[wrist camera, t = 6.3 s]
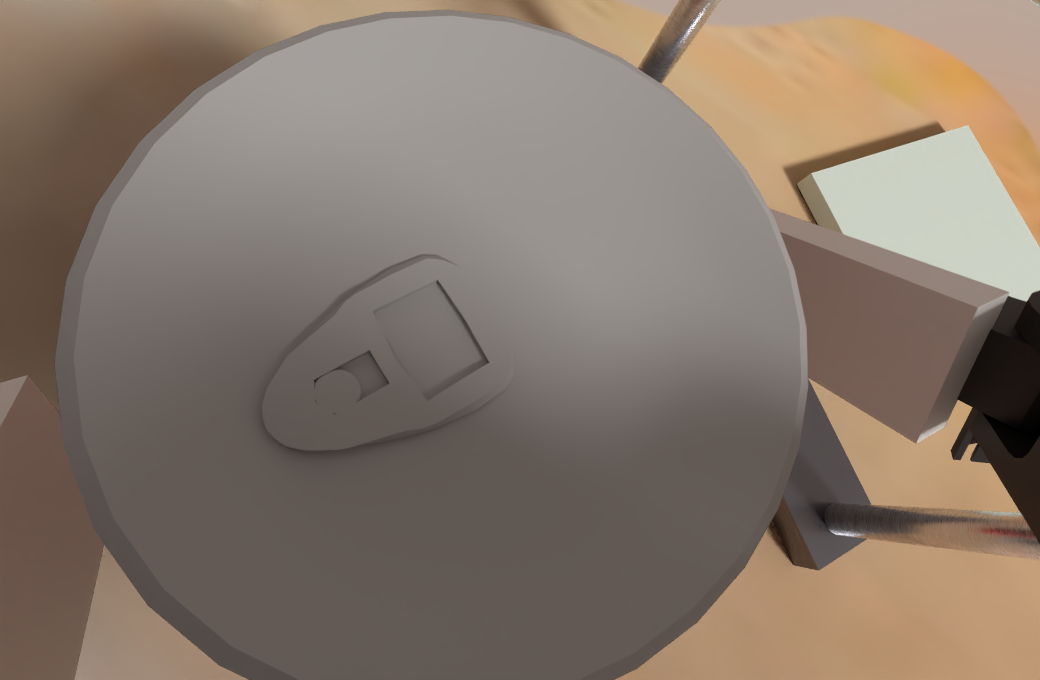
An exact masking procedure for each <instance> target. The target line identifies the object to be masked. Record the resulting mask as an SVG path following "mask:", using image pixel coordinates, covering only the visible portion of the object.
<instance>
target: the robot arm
mask: <svg viewBox="0 0 1040 680" xmlns="http://www.w3.org/2000/svg"><path fill="white" fill-rule="evenodd" d="M769 209H770V208H769ZM770 211H771V213H772V214H773V216H774V218H775V221H776V223H777V226H778V228H779V231H780V234H781V236H782V239H783V241H784V244H785V246H786V249H787V252H788V254H789V257H790V259H791V262H792V264H793V267H794V270H795V274H796V279H797V284H798V288H799V293H800V298H801V303H802V308H803V313H804V318H805V322H806V329H807V361H808V378H810V379H812V380H813V381H815V382H816V383H818V384H820V385H821V386H823V387H825V388H826V389H828V390H829V391H831V392H833V393H834V394H836V395H838V396H839V397H841V398H843V399H844V400H846V401H847V402H849V403H851V404H852V405H854V406H856V407H857V408H859V409H860V410H862V411H864V412H865V413H867V414H869V415H870V416H872V417H873V418H875V419H877V420H878V421H880V422H882V423H883V424H885V425H887V426H888V427H890V428H891V429H893V430H895V431H896V432H898V433H900V434H901V435H903V436H904V437H906V438H908V439H909V440H911V441H913V442H914V443H918V442H920V441H921V440H923V439H925V438H927V437H928V436H930V435H932V434H934V433H935V432H937V431H939V430H941V429H942V428H944V427H945V425H946V423H947V421H948V419H949V417H950V415H951V413H952V410H953V408H954V406H955V404H956V402H957V400H960V401H962V402H964V403H965V404H967V405H969V406H971V407H973V408H972V410H971V412H970V414H969V416H968V418H967V420H966V422H965V424H964V426H963V428H962V429H961V431H960V433H959V435H958V437H957V439H956V441H955V443H954V445H953V447H952V449H951V453H952V457H953V459H954V460H961V458H962V456H963V454H964V452H965V450H966V449H967V447H968V445H969V444H974V443H978V444H977V446H976V447H975V449H974V451H973V453H972V455H971V459H970V460H971V461H973V462H983V463H990V464H991V465H992V467H993V468H994V470H995V472H996V473H997V475H998V477H999V478H1000V480H1001V481H1002V483H1003V485H1004V486H1005V488H1006V490H1007V491H1008V493H1009V495H1010V496H1011V498H1012V499H1013V501H1014V503H1015V504H1016V506H1017V508H1018V509H1019V511H1020V512H1021V514H1022V516H1023V517H1024V519H1025V521H1026V522H1027V524H1028V526H1029V527H1030V529H1031V530H1032V532H1033V534H1034V535H1035V537H1036V539H1037V540H1038V542H1039V544H1040V290H1039V291H1036V292H1033V293H1032V294H1031V295H1030V297H1029V299H1028V300H1027V302H1026V301H1023V300H1020V299H1016V298H1013V297H1010V296H1008V295H1009V293H1010V292H1008V291H1005V290H1002V289H999V288H996V287H993V286H991V285H988V284H985V283H982V282H979V281H976V280H973V279H970V278H968V277H965V276H962V275H959V274H956V273H953V272H950V271H947V270H945V269H942V268H939V267H936V266H933V265H930V264H927V263H925V262H922V261H919V260H916V259H913V258H910V257H907V256H904V255H902V254H899V253H896V252H893V251H890V250H887V249H884V248H881V247H879V246H876V245H873V244H870V243H867V242H864V241H861V240H859V239H856V238H853V237H850V236H847V235H844V234H841V233H838V232H836V231H833V230H830V229H827V228H824V227H821V226H818V225H815V224H813V223H810V222H807V221H804V220H801V219H798V218H795V217H793V216H790V215H787V214H784V213H781V212H778V211H775V210H772V209H770ZM103 547H104V543H103V542H102V540H101V539H100V537H99V536H98V535H97V533H96V532H95V530H94V527H93V525H92V522H91V519H90V517H89V514H88V511H87V509H86V506H85V503H84V501H83V498H82V495H81V493H80V490H79V488H78V485H77V482H76V480H75V477H74V474H73V472H72V469H71V466H70V464H69V461H68V458H67V456H66V453H65V450H64V448H63V439H62V429H61V420H60V415H59V413H58V412H57V411H56V410H55V408H54V407H53V406H52V404H51V403H50V402H49V401H48V399H47V398H46V397H45V396H44V394H43V393H42V392H41V390H40V389H39V388H38V387H37V385H36V384H35V383H34V381H33V380H32V379H31V378H30V376H29V375H26V376H22V377H19V378H15V379H12V380H8V381H5V382H1V383H0V680H74V679H75V674H76V670H77V665H78V661H79V656H80V652H81V647H82V643H83V638H84V633H85V629H86V624H87V620H88V615H89V611H90V606H91V602H92V597H93V593H94V588H95V584H96V579H97V575H98V570H99V566H100V561H101V557H102V552H103Z"/></svg>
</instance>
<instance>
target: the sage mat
mask: <svg viewBox="0 0 1040 680" xmlns="http://www.w3.org/2000/svg"><path fill="white" fill-rule="evenodd" d="M797 186H798V188H799V190H800V191H801V193H802V195H803V197H804V199H805V201H806V203H807V205H808V207H809V209H810V211H811V213H812V214H813V216H814V218H815V220H816V222H817V224H818V226H821V227H824V228H827V229H830V230H833V231H836V232H838V233H841V234H844V235H847V236H850V237H853V238H856V239H859V240H861V241H864V242H867V243H870V244H873V245H876V246H879V247H881V248H884V249H887V250H890V251H893V252H896V253H899V254H902V255H904V256H907V257H910V258H913V259H916V260H919V261H922V262H925V263H927V264H930V265H933V266H936V267H939V268H942V269H945V270H947V271H950V272H953V273H956V274H959V275H962V276H965V277H968V278H970V279H973V280H976V281H979V282H982V283H985V284H988V285H991V286H993V287H996V288H999V289H1002V290H1005V291H1008V292H1010V293H1009V295H1008V296H1010V297H1013V298H1016V299H1020V300H1023V301H1026V302H1027V300H1028V299H1029V297H1030V295H1031V294H1032V293H1033V292H1036V291H1039V290H1040V247H1039V246H1038V244H1037V242H1036V240H1035V239H1034V237H1033V235H1032V234H1031V232H1030V230H1029V229H1028V227H1027V225H1026V223H1025V222H1024V220H1023V218H1022V217H1021V215H1020V213H1019V211H1018V210H1017V208H1016V206H1015V205H1014V203H1013V201H1012V200H1011V198H1010V196H1009V194H1008V193H1007V191H1006V189H1005V188H1004V186H1003V184H1002V183H1001V181H1000V179H999V177H998V176H997V174H996V172H995V171H994V169H993V167H992V166H991V164H990V162H989V160H988V159H987V157H986V155H985V154H984V152H983V150H982V148H981V147H980V145H979V143H978V142H977V140H976V138H975V137H974V135H973V133H972V131H971V130H970V128H969V126H968V125H967V126H964V127H960V128H957V129H954V130H951V131H947V132H944V133H941V134H938V135H934V136H931V137H928V138H925V139H921V140H918V141H915V142H911V143H908V144H905V145H902V146H898V147H895V148H892V149H889V150H885V151H882V152H879V153H876V154H872V155H869V156H866V157H863V158H859V159H856V160H853V161H850V162H846V163H843V164H840V165H837V166H833V167H830V168H827V169H824V170H820V171H817V172H814V173H811V174H810V175H808V176H807V177H805V178H804V179H803V180H801V181H800V182H798V183H797Z"/></svg>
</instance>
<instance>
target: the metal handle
mask: <svg viewBox="0 0 1040 680" xmlns="http://www.w3.org/2000/svg"><path fill="white" fill-rule="evenodd" d="M720 1H721V0H679V2H678V3H677V5H676V7H675V8H674V10H673V11H672V13H671V15H670V16H669V18H668V20H667V21H666V23H665V24H664V26H663V28H662V29H661V31H660V33H659V34H658V36H657V37H656V39H655V41H654V42H653V44H652V46H651V47H650V49H649V50H648V52H647V54H646V55H645V57H644V59H643V60H642V62H641V63H640V65H639V67H638V69H639V70H641V71H642V72H644V73H645V74H647V75H648V76H650V77H652V78H653V79H655V80H656V81H658V82H659V83H661V84H662V83H663V82H664V80H665V79H666V77H667V76H668V75H669V73H670V72H671V70H672V69H673V68H674V66H675V65H676V63H677V62H678V60H679V59H680V58H681V56H682V55H683V53H684V52H685V50H686V49H687V48H688V46H689V45H690V43H691V42H692V40H693V39H694V38H695V36H696V35H697V33H698V32H699V31H700V29H701V28H702V26H703V25H704V23H705V22H706V21H707V19H708V18H709V16H710V15H711V13H712V12H713V11H714V9H715V8H716V6H717V5H718V3H719V2H720ZM1030 1H1031V2H1033V3H1035V4H1036V5H1037V6H1039V7H1040V0H1030ZM772 521H773V523H774V525H775V527H776V529H777V531H778V534H779V536H780V538H781V540H782V542H783V544H784V546H785V548H786V551H787V553H788V555H789V557H790V559H791V561H792V563H793V565H795V566H800V567H805V568H809V569H814V570H820V569H822V568H823V567H825V566H826V565H828V564H829V563H831V562H832V561H834V560H836V559H837V558H839V557H840V556H842V555H843V554H845V553H846V552H848V551H849V550H851V549H852V548H854V547H855V546H857V545H859V544H860V543H862V542H863V541H865V540H866V539H872V540H880V541H888V542H897V543H905V544H913V545H921V546H929V547H937V548H945V549H953V550H961V551H969V552H978V553H986V554H994V555H1002V556H1010V557H1018V558H1026V559H1034V560H1040V544H1039V542H1038V540H1037V539H1036V537H1035V535H1034V534H1033V532H1032V530H1031V529H1030V527H1029V526H1028V524H1027V522H1026V521H1025V519H1024V517H1023V516H1022V514H1021V513H1017V512H998V511H978V510H959V509H940V508H921V507H902V506H883V505H871V503H870V501H869V499H868V497H867V495H866V493H865V491H864V489H863V487H862V485H861V483H860V481H859V479H858V477H857V475H856V473H855V471H854V469H853V467H852V465H851V463H850V461H849V459H848V457H847V455H846V453H845V451H844V449H843V447H842V445H841V443H840V441H839V439H838V437H837V435H836V433H835V431H834V429H833V427H832V425H831V423H830V421H829V419H828V417H827V415H826V413H825V411H824V409H823V407H822V405H821V403H820V401H819V399H818V397H817V395H816V393H815V391H814V389H813V387H812V385H811V383H810V381H809V379H808V392H807V399H806V405H805V412H804V419H803V426H802V433H801V439H800V446H799V450H798V453H797V456H796V459H795V461H794V464H793V467H792V470H791V473H790V476H789V479H788V482H787V485H786V488H785V491H784V494H783V497H782V500H781V502H780V505H779V508H778V510H777V512H776V514H775V515H774V517H773V519H772Z"/></svg>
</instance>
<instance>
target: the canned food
mask: <svg viewBox="0 0 1040 680" xmlns="http://www.w3.org/2000/svg"><path fill="white" fill-rule="evenodd" d="M54 363H55V373H56V382H57V391H58V401H59V410H60V420H61V429H62V439H63V448H64V450H65V453H66V456H67V458H68V461H69V464H70V466H71V469H72V472H73V474H74V477H75V480H76V482H77V485H78V488H79V490H80V493H81V495H82V498H83V501H84V503H85V506H86V509H87V511H88V514H89V517H90V519H91V522H92V525H93V527H94V530H95V532H96V533H97V535H98V536H99V537H100V539H101V540H102V542H103V543H104V544H105V546H106V547H107V549H108V550H109V551H110V553H111V554H112V556H113V557H114V558H115V560H116V561H117V563H118V564H119V566H120V567H121V568H122V570H123V571H124V573H125V574H126V575H127V577H128V578H129V580H130V581H131V582H132V584H133V585H134V587H135V588H136V589H137V591H138V592H139V594H140V595H141V596H142V598H143V599H144V601H145V602H146V603H147V605H148V606H149V607H150V608H152V609H153V610H154V611H155V612H156V613H158V614H159V615H160V616H161V617H162V618H164V619H165V620H166V621H167V622H168V623H169V624H171V625H172V626H173V627H174V628H175V629H177V630H178V631H179V632H180V633H181V634H183V635H184V636H185V637H186V638H187V639H188V640H190V641H191V642H192V643H193V644H194V645H196V646H197V647H198V648H199V649H200V650H202V651H203V652H204V653H205V654H206V655H208V656H209V657H210V658H211V659H212V660H213V661H215V662H216V663H217V664H218V665H220V666H222V667H224V668H226V669H228V670H230V671H232V672H234V673H236V674H238V675H241V676H243V677H245V678H247V679H249V680H614V679H617V678H619V677H621V676H623V675H625V674H627V673H629V672H631V671H633V670H635V669H637V668H638V667H640V666H641V665H642V664H644V663H645V662H646V661H647V660H649V659H650V658H651V657H653V656H654V655H655V654H657V653H658V652H659V651H660V650H662V649H663V648H664V647H666V646H667V645H668V644H670V643H671V642H672V641H674V640H675V639H676V638H677V637H679V636H680V635H681V634H683V633H684V632H685V631H687V630H688V629H689V628H690V627H692V626H693V625H694V624H696V623H697V622H698V621H699V620H700V619H701V617H702V616H703V615H704V614H705V613H706V612H707V610H708V609H709V608H710V607H711V606H712V605H713V604H714V602H715V601H716V600H717V599H718V598H719V597H720V595H721V594H722V593H723V592H724V591H725V590H726V589H727V587H728V586H729V585H730V584H731V583H732V582H733V580H734V579H735V578H736V577H737V576H738V575H739V574H740V572H741V571H742V570H743V569H744V568H745V566H746V564H747V563H748V561H749V559H750V557H751V556H752V554H753V552H754V550H755V549H756V547H757V545H758V543H759V542H760V540H761V538H762V536H763V535H764V533H765V531H766V529H767V528H768V526H769V524H770V522H771V521H772V519H773V517H774V515H775V514H776V512H777V510H778V508H779V505H780V502H781V500H782V497H783V494H784V491H785V488H786V485H787V482H788V479H789V476H790V473H791V470H792V467H793V464H794V461H795V459H796V456H797V453H798V450H799V446H800V439H801V433H802V426H803V419H804V412H805V405H806V399H807V392H808V361H807V329H806V322H805V318H804V313H803V308H802V303H801V298H800V293H799V288H798V284H797V279H796V274H795V270H794V267H793V264H792V262H791V259H790V257H789V254H788V252H787V249H786V246H785V244H784V241H783V239H782V236H781V234H780V231H779V228H778V226H777V223H776V221H775V218H774V216H773V214H772V213H771V211H770V209H769V208H768V206H767V204H766V203H765V201H764V199H763V197H762V196H761V194H760V192H759V191H758V189H757V187H756V185H755V184H754V182H753V180H752V179H751V177H750V175H749V174H748V172H747V170H746V169H745V167H744V166H743V165H742V164H741V163H740V161H739V160H738V159H737V158H736V156H735V155H734V154H733V153H732V152H731V150H730V149H729V148H728V147H727V146H726V144H725V143H724V142H723V141H722V139H721V138H720V137H719V136H718V135H717V133H716V132H715V131H714V130H713V129H712V127H711V126H710V125H709V124H708V123H707V122H705V121H704V120H703V119H702V118H701V117H700V116H699V115H698V114H696V113H695V112H694V111H693V110H692V109H691V108H690V107H689V106H687V105H686V104H685V103H684V102H683V101H682V100H681V99H680V98H679V97H677V96H676V95H675V94H674V93H673V92H672V91H671V90H670V89H668V88H667V87H665V86H664V85H662V84H661V83H659V82H658V81H656V80H655V79H653V78H652V77H650V76H648V75H647V74H645V73H644V72H642V71H641V70H639V69H638V68H636V67H635V66H633V65H632V64H630V63H628V62H627V61H625V60H624V59H622V58H621V57H619V56H616V55H614V54H612V53H610V52H608V51H605V50H603V49H601V48H599V47H597V46H594V45H592V44H590V43H588V42H586V41H583V40H581V39H579V38H577V37H574V36H572V35H570V34H568V33H565V32H561V31H557V30H554V29H550V28H547V27H543V26H540V25H536V24H532V23H529V22H525V21H522V20H518V19H515V18H511V17H504V16H496V15H487V14H479V13H471V12H462V11H454V10H433V11H408V12H384V13H380V14H375V15H370V16H365V17H360V18H355V19H351V20H346V21H341V22H336V23H331V24H327V25H322V26H318V27H316V28H313V29H311V30H308V31H306V32H303V33H301V34H298V35H296V36H293V37H291V38H288V39H286V40H283V41H280V42H278V43H275V44H273V45H270V46H268V47H265V48H263V49H260V50H258V51H255V52H254V53H252V54H251V55H249V56H247V57H246V58H244V59H243V60H241V61H239V62H238V63H236V64H235V65H233V66H231V67H230V68H228V69H227V70H225V71H224V72H222V73H220V74H219V75H217V76H216V77H214V78H212V79H211V80H209V81H208V82H206V83H204V84H203V85H201V86H200V87H198V88H196V89H195V90H194V91H193V92H192V93H191V94H190V95H188V96H187V97H186V98H185V99H184V100H183V101H182V102H181V103H180V104H179V105H178V106H177V107H176V108H175V109H174V110H173V111H171V112H170V113H169V114H168V115H167V116H166V117H165V118H164V119H163V120H162V121H161V122H160V123H159V124H158V125H157V126H156V127H155V128H153V129H152V130H151V131H150V132H149V133H148V134H147V135H146V136H145V137H144V138H143V139H142V140H141V141H140V142H139V144H138V145H137V146H136V148H135V149H134V151H133V152H132V154H131V155H130V157H129V158H128V159H127V161H126V162H125V164H124V165H123V167H122V168H121V170H120V171H119V172H118V174H117V175H116V177H115V178H114V180H113V181H112V183H111V184H110V185H109V187H108V188H107V190H106V191H105V193H104V194H103V196H102V197H101V198H100V200H99V201H98V203H97V204H96V207H95V209H94V212H93V214H92V217H91V219H90V221H89V224H88V226H87V229H86V231H85V234H84V236H83V239H82V241H81V244H80V246H79V249H78V251H77V254H76V256H75V259H74V261H73V264H72V266H71V269H70V271H69V274H68V276H67V279H66V285H65V292H64V299H63V306H62V313H61V319H60V326H59V333H58V340H57V347H56V354H55V361H54Z"/></svg>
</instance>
